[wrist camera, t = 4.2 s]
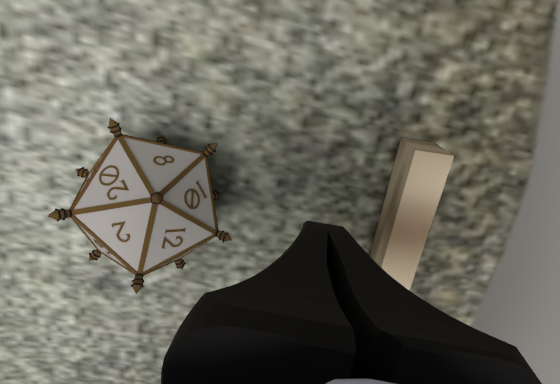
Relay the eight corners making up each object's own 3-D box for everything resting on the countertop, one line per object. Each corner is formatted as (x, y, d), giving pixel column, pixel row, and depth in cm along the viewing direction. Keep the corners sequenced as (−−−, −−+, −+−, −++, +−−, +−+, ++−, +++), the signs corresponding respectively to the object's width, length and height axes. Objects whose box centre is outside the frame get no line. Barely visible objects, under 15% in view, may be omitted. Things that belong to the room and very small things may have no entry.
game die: (169, 166, 27) (7, 171, 19) (234, 100, 22) (49, 71, 14) (208, 277, 25) (45, 333, 17) (291, 234, 20) (111, 287, 12)
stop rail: (392, 282, 24) (402, 311, 22) (363, 277, 24) (370, 305, 22) (435, 142, 21) (454, 156, 18) (401, 137, 21) (415, 150, 18)
